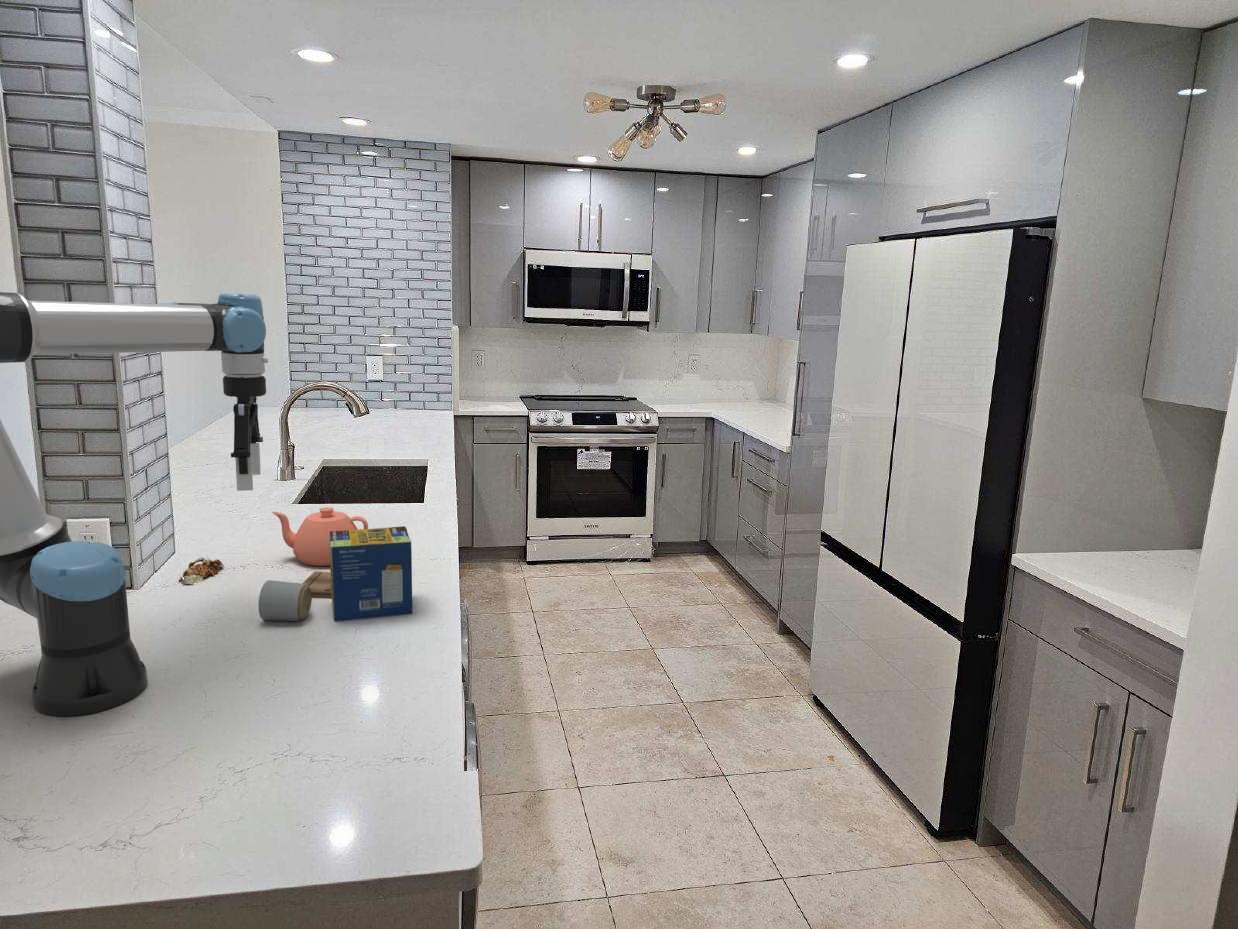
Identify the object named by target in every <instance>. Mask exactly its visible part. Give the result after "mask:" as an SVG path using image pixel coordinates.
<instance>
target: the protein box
mask: <svg viewBox="0 0 1238 929" xmlns="http://www.w3.org/2000/svg"><path fill="white" fill-rule="evenodd" d="M357 529H358V528H357ZM412 556H413V555H412V540H411V538H410V535H409V532H408V529H407V527H406V526H402V525H401V526H393V527H391V526H390V527H378V528H377V527H376V528H368V529H364V528H360V529H358V530H344V531H330V568H329V569H330V572H331V592H332V598H331V606H332V607H331V608H332V619H333V621H334V622H339V621H341V622H342V621H349V620H361V619H362V620H363V619H370V618H381V617H390V616H391V617H392V616H400V615H402V616H403V615H410V614H413V562H412V560H413V559H412V558H413V557H412Z"/></svg>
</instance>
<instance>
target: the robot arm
mask: <svg viewBox="0 0 1238 929" xmlns="http://www.w3.org/2000/svg"><path fill="white" fill-rule="evenodd" d="M264 320H265V317H264V310H263V302H262V299H261V298H260V296H259V295H257V294H252V293H236V292H235V293H234V292H233V293H232V292H230V293H227V292H222V293H221V292H220V294H219V295H218V299H217V303H197V302H194V303H193V302H175V301H174V302H173V301H172V302H162V303H158V304H156V303H149V304H148V303H127V302H125V303H124V302H123V303H121V302H119V303H118V302H92V301H91V302H90V301H88V302H86V301H56V300H54V301H53V300H52V301H51V300H28V299H27V298H25V296H23V295H22V294H20V293H19V292H7V291H6V292H1V291H0V364H5V363H7V364H8V363H9V364H10V363H11V364H12V363H26V362H28V361H29V360H30V359H31V358H33V357H34V356H35V355H38V356H39V355H72V354H73V355H76V354H79V355H80V354H83V355H84V354H121V353H128V354H129V353H130V354H131V353H163V352H164V353H165V352H166V353H169V352H171V353H172V352H220V354H221V355H220V356H221V357H220V358H221V372H222V373H223V374H224V376H223V377H222V384H223V385H222V386H223V387H222V388H223V394H224V395H225V396H226V397H231V398H232V397H235V398H236V403H234V405H233V408H232V410H233V416H234V420H233V423H234V426H233V452H231V453H230V457H231V458H235V476H236V491H238V492H239V491H243V492H244V491H245V492H247V491H253V490H254V481H253V477H254V476H257V475H261V454H260V443H263V442H264V437H263V436H261V433H260V427H259V425H260V424H259V411H258V409H259V405H258V404H257V400H258V397H263V396H265V395H266V394H267V381H266V377H265V376H264V375H263V374H265V373H266V367H265V364H267V363H268V362H269V360H268V358H267V357H265V340H266V335H267V328H266V323H265V321H264ZM38 496H39V495H38V494H37V492H36V490H35V488H34V486H33V483H32V481H31V479H30V478H29V475H28V473H27V472H26V469H25V467H24V465H23V463H22V461H21V459H20V457H19V455H18V453H17V450H16V449H15V447H14V445H13V443H12V441H11V439H10V437H9V435H8V433H7V429H6V428H5V426H4V424H3V422H2V419H0V601H2V602H3V603H4V604H5V603H6V604H7V605H10V606H12V607H14V608H17V609H18V610H20V611H22V612H24V613H26V614H27V615H30V616H31V617H34V619H36V621H37V628H38V635H39V642H40V651H41V656H40V661H39V664H38V669H37V673H36V676H35V677H36V678H35V682H34V684H33V686H32V690H31V693H32V695H31V697H32V700H33V701H32V702H33V706H34V709H35V710H36V711H38V712H39V713H42V714H44V715H49V716H57V717H74V716H81V715H88V714H93V713H94V714H95V713H97V712H98V713H99V712H103V711H104V710H108V709H111V708H114V707H117V706H119V705H122V704H124V703H126V702H128V701H130V700H132V699H133V698H135V697H137V696H138V695H139V694H141V693H142V692H143V691H144V690H145V688H146V687H147V685H148V675H147V674H148V673H147V667H146V665H145V664H144V662H143V661H142V660H141V659H140V656H139V654H138V651H137V648H136V647H135V645H134V643H133V641H132V638H131V631H130V630H131V629H130V621H129V620H130V619H129V607H128V596H127V587H126V586H127V584H126V568H125V567H124V561H123V557H122V555H121V553H120V551H118V549H117V548H115V547H113V546H111V545H109V544H106V543H103V542H98V541H93V542H90V541H89V540H88V541H87V540H78V541H77V540H76V541H72V539H71V536H70V534H69V533H68V531H67V528H66V526H65V525H64V523H63V521H62V519H61V518H60V517H58V516H53V515H51V514H48V513H46V511H45V508H44V507H43V504H42V502H41V500H40V498H39V497H38Z"/></svg>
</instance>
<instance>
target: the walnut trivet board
mask: <svg viewBox="0 0 1238 929" xmlns="http://www.w3.org/2000/svg"><path fill="white" fill-rule="evenodd" d="M301 584H305V585H307V586H309V588H310V589H311V596H312V598H313V599H314V598H316V599H317V598H318V599H319V598H320V599H321V598H322V599H332V592H331V571H313V572H312V573H311V574H310V575H309V576H308V577H307V578H306V579H305V580H304V581H303V582H302V583H301Z"/></svg>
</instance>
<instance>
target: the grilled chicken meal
mask: <svg viewBox="0 0 1238 929" xmlns="http://www.w3.org/2000/svg"><path fill="white" fill-rule="evenodd" d="M200 562H201V563H200ZM196 563H197V564H196ZM221 567H222V568H224V564H223V562H222V561H220V559H214V560H212V559H211V558H209V557H207V558H204V557H199V558H197V559H195V560H193V561H190V562H189V564H188V566H187V568H186V569H185V570H184V571H183V574H182V576H181V577H180V578H179V579H178V583H179V582H181V583H180V585H181V584H183V585H182V586H184V585H192V584H194V583H198V582H201V583H202V582H203V579H204V578H205V577H208V576H209V575H210V574H211V575H212V576H213V577H214V576H215V575H216V576H218V575H219V573H220V572H221V571H220V568H221ZM218 572H219V573H218ZM216 576H215V577H216ZM182 577H184V580H183V578H182ZM194 585H195V584H194Z"/></svg>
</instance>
